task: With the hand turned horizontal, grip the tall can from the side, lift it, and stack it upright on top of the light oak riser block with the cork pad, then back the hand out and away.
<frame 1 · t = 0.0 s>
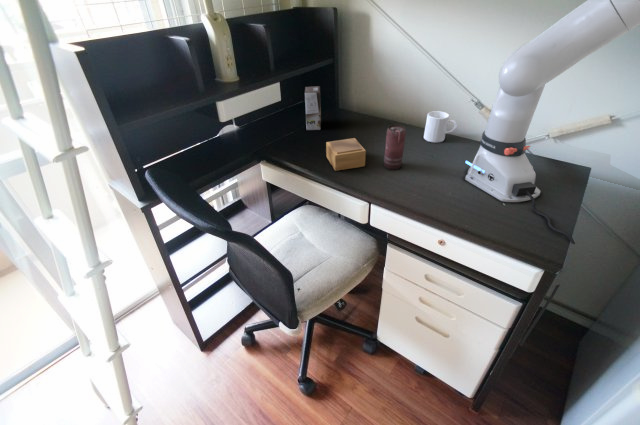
coffee box: (314, 126, 146), on the table
mug: (438, 140, 131), on the table
can: (392, 166, 115), on the table
riser: (345, 161, 118), on the table
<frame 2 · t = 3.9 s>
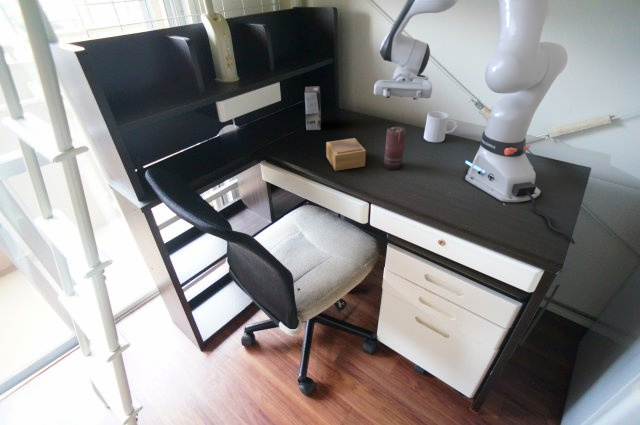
hand: (401, 96, 112), 20 cm above the table, tool horizontal, fingers open, 8 cm apart
nothing on the table moved.
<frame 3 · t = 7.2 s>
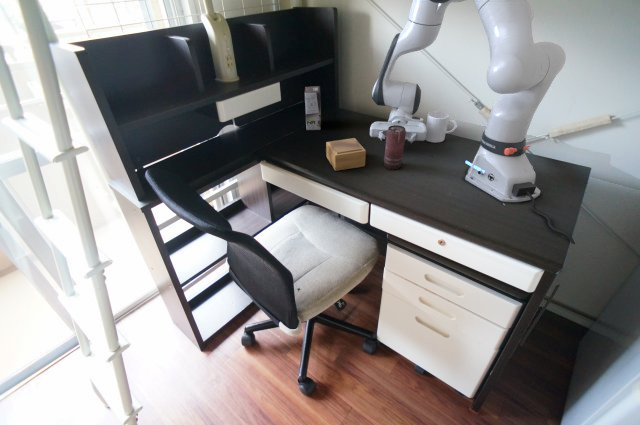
hand: (396, 140, 114), 7 cm above the table, tool horizontal, fingers open, 8 cm apart
nothing on the table moved.
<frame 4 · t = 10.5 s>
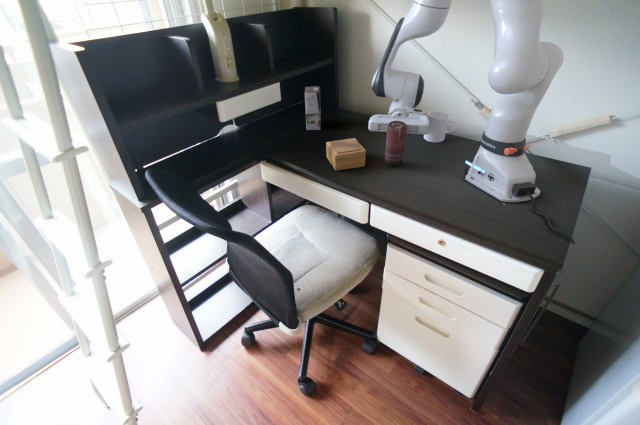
hand: (396, 133, 106), 13 cm above the table, tool horizontal, fingers closed, pressing on can
can: (393, 161, 115), point 1 cm above the table, touching gripper
everything else where it was.
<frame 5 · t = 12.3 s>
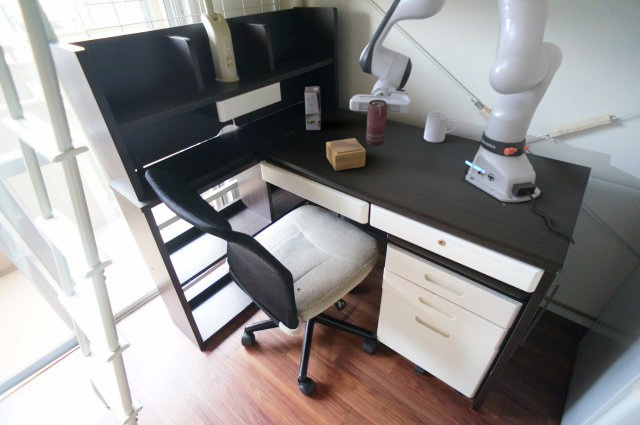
hand: (377, 112, 104), 19 cm above the table, tool horizontal, fingers closed, pressing on can
can: (375, 142, 112), point 8 cm above the table, touching gripper
everything else where it was.
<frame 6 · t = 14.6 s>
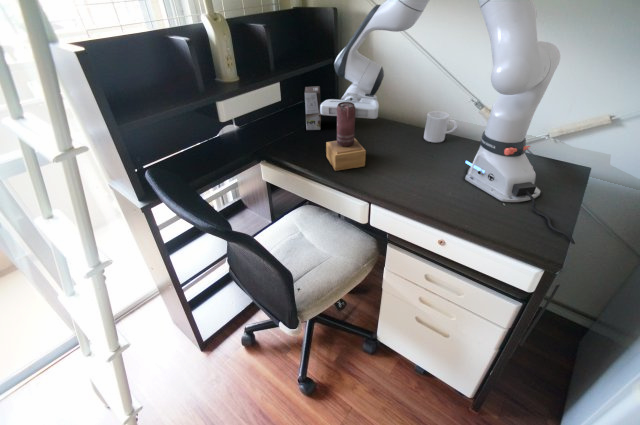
hand: (345, 117, 108), 17 cm above the table, tool horizontal, fingers closed
can: (345, 144, 116), point 6 cm above the table, touching riser
everything else where it was.
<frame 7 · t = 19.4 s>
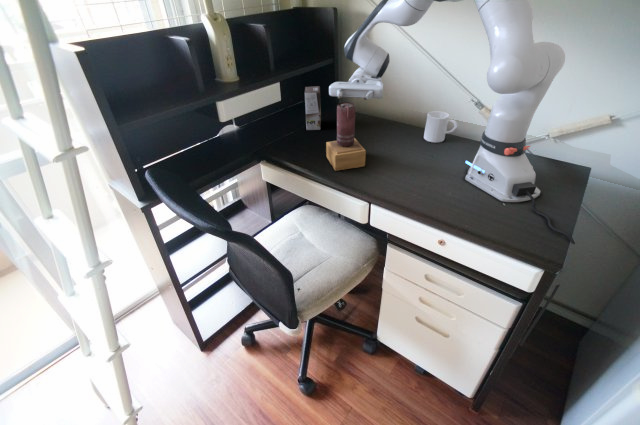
hand: (352, 96, 116), 19 cm above the table, tool horizontal, fingers open, 8 cm apart
nothing on the table moved.
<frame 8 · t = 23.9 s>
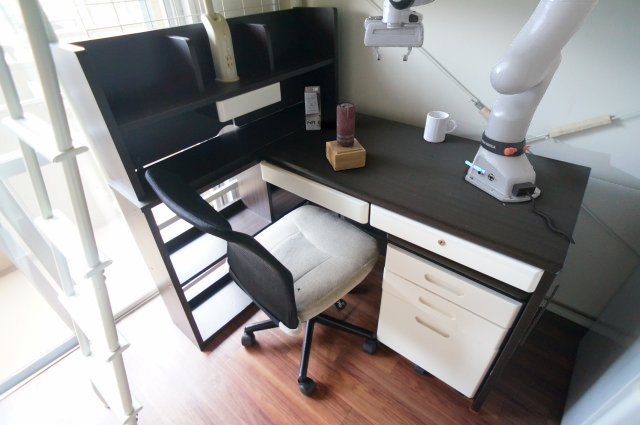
hand: (391, 60, 117), 29 cm above the table, tool pointing down, fingers open, 8 cm apart
nothing on the table moved.
at the end: can 1.2 cm off-centre on the riser, point 6.2 cm above the riser's base; can tilted 0°; the gripper is holding nothing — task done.
